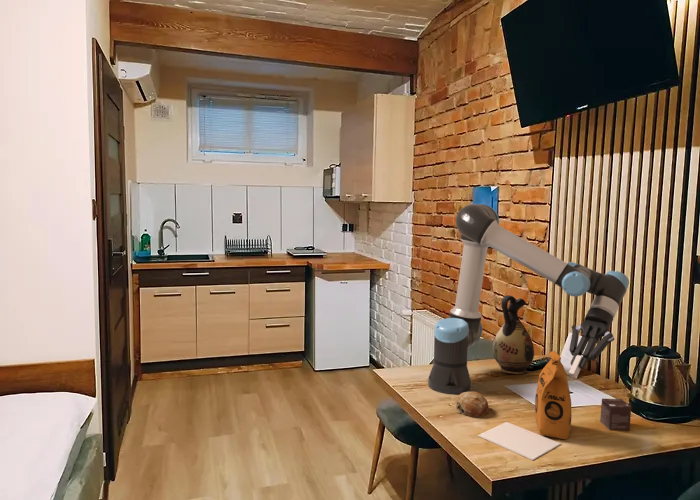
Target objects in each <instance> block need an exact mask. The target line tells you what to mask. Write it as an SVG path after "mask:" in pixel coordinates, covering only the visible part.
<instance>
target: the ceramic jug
mask: <svg viewBox="0 0 700 500" xmlns="http://www.w3.org/2000/svg"><path fill="white" fill-rule="evenodd" d="M508 302H509V306H508ZM526 304H527V302H526V301H525V300H524V299H523V298H521V297H520V298H518V299H516V297H514V296H512V295H504V296H503V298H502V299H501V310H502V314H503V319H504V323H503V324H502V325H501V327H500V329H499V330H498V331H497V333H496V335H495V337H494V340H493V342H492V355H493V358H494V360H495V362H496V363H497V364H498V365H499V367H500V371H501V372H503V373H504V374H505V373H507V374H514V375H523V374H526V373H527V368H528V367H529V366H531V364H532V363H533V361H534V357H535V347H534V343H533V341H532V337H531V335H530V333H529V331H528V330H527V329H526V327H525V325H524V324H523V323H522V321H521V319H520V317H519V315H518V312H519V310H520V309H521V308H523V307H524V306H526Z"/></svg>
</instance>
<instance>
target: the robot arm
mask: <svg viewBox="0 0 700 500" xmlns="http://www.w3.org/2000/svg"><path fill="white" fill-rule="evenodd" d="M499 223H500V218H499V215H498V213H497V211H496V210H495V209H494V208H493V207H491V206H490V205H488V204H484V203H482V204H481V203H479V204H469V205H464V207H462V208H461V209H460V210H459V211H458V213H457V214H456V217H455V226H456V229H457V231H458V232H459V233H460V241H461V242H462V243H463V250H462V257H461V263H460V268H459V269H460V271H459V276H458V282H457V283H458V284H457V289H456V297H455V305H454V306H453V308H451V309H450V312H449V316H448V317H446V318H442V319H440V320H438V321H437V322H436V323H435V325H434V334H433V335H434V336H433V337H434V341H433V343H434V345H433V364H432V368H431V370H430V373H429V376H428V380H427V382H428V383H427V385H428V387H429V388H430V389H432V390H434V391H436V392H440V393H444V394H455V395H456V394H459V395H460V394H461V393H463V392H471V390H472V380H471V376H470V373H469V369H468V351H469V349H471V348H472V347H473V346H475V345H476V344H477V343H478V342H479V340H480V339H481V338H482V335H483V325H482V314H481V312H480V311H479V309H480V308H479V307H480V302H481V294H482V288H483V281H484V274H485V269H486V268H485V267H486V263H487V262H486V261H487V253H488V248H491V249H493V250H495V251H497V252H498V253H500V254H501V255H503V256H506V257H507V258H508V259H510V260H513V261H514V262H516V263H518V264H519V265H521V266H524V267H525V268H526V269H528V270H530V271H531V272H534V273H535V274H537V275H539V276H540V277H542V278H544V279H546V280H547V281H549V282H552V283H553V284H554V285H555V286H557V287H559V288H561V289H562V290H563V291H564V292H565V294H567V295H569V296H571V297H580V296H583V295H585V294H586V293H588V294H591V295H594V298H593V300H592V302H591V304H590V306H589V309H588V310H587V313H586V315H585V316H584V317H585V318H584V320H583V321H581V323H580V324H579V325H577V326H576V325H572V326H571V329H572V333H571V338H570V344H569V349H568V351H569V352H570V354H571V356H572V359H571V361H570V369H569V370H568V374H569V377H571V378H572V379H575V380H576V379H577V378H578V376H579V373H580V371H581V370H584V369H585V368H586V365H587V363H588V362H589V361H593V362H594V361H596V360H597V359H598V358H599V356H600V355H601V354H602V352H603V351H604V350H605V349H607V346H608V345H609V344H611V343H612V342H614V341H615V336H614V334H613V333H612V332H610V328H611V325H612V324H613V321H614V319H615V317H616V314H617V312H618V310H619V308H620V305H621V303H622V301H623V300H624V297H625V295H626V294H627V290H628V287H629V286H630V279H629V278H628V276H627V275H626V274H625V273H623V272H621V271H618V270H616V271H615V270H610V271H607V272H606V273H602V272H599V271H597V270H594V269H591V268H589V267H587V266H584V265H581V264H580V263H577V262H573V261H569V262H568V263H567V262H566V261H564V260H562V259H560V258H559V257H557V256H555V255H553V254H552V253H550V252H548V251H546V250H544V249H542V248H541V247H538V246H536V245H535V244H533V243H532V242H530V241H528V240H526V239H524V238H522V237H520V236H518V235H517V234H515V233H514V232H511V231H510V230H508V229H505V228H504V227H502V226H501V225H500V224H499ZM580 333H582V334H581V338H579V337H580ZM579 339H580V340H579Z"/></svg>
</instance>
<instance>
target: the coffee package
mask: <svg viewBox="0 0 700 500" xmlns="http://www.w3.org/2000/svg"><path fill="white" fill-rule="evenodd" d="M549 357H550V360H549V361H548V362H547V363H546V365H545V366H544V367H543V369H541V371H540V373H539V376H538V381H537V386H536V392H535V397H534V416H535V422H536V425H537V429H538V432H539V433H540V434H539V435H541V436H543V437H545V436H546V437H550V438H556V439H560V440H568V438H569V435H570V431H571V428H572V413H573V412H572V399H571V393H570V387H569V383H568V382H569V381H568V378H567V372H566V369H565V367H564V365H563V363H562V357H561V356H560V355H559V354H558V353H557V352H556V351H555V350H552V351H550V352H549Z"/></svg>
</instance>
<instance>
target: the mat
mask: <svg viewBox="0 0 700 500" xmlns="http://www.w3.org/2000/svg"><path fill="white" fill-rule="evenodd" d="M477 437H479V438H481V439H484V440H486V441H488V442H490V443H492V444H494V445H497V446H499V447H501V448H503V449H506V450H508V451H511V452H513V453H515V454H517V455H519V456H522V457H524V458H527V459H528V460H530V461H534V460H537V459H538V458H540V457H541V456H543V455H545V454H547V453H548V452H551V451H552V450H554V449H555V448H557V447H559V446H560V445H561V442H558V441H557V440H553V439H550V438H548V437H547V436H546V437H545V436H543V435H541V434H538V433H536V432H533V431H530V430H528V429H527V428H523V427H521V426H518V425H515V424H513V423H511V422H508V421H505V422H503V423H500V424H499V425H497V426H495V427H493V428H490V429H488V430H486V431H484V432H482V433H479V434H478V435H477Z"/></svg>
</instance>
